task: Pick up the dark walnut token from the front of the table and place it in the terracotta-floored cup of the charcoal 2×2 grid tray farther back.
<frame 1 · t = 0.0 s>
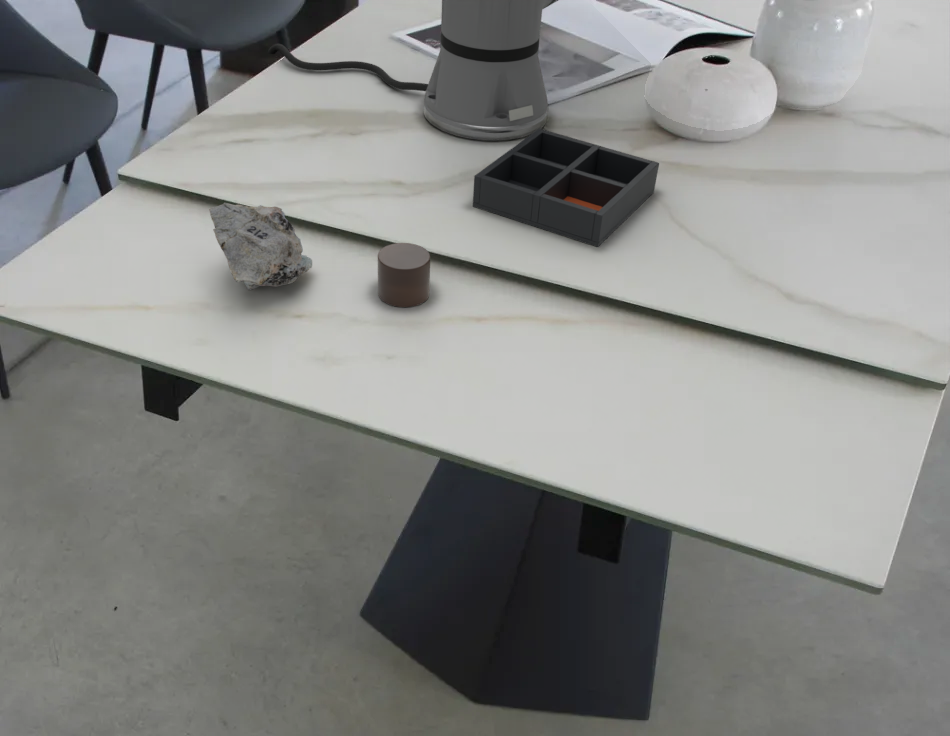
mineral specimen: (261, 284, 97), on the table
grid: (565, 199, 112), on the table
token: (403, 293, 96), on the table
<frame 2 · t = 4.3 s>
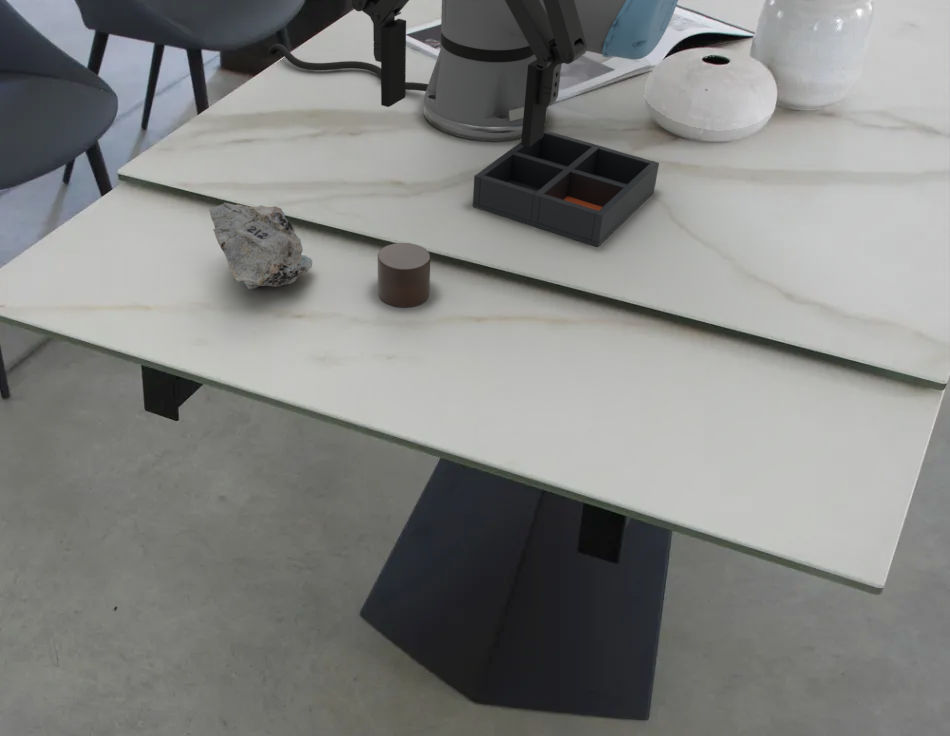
hand: (461, 121, 87), 16 cm above the table, tool pointing down, fingers open, 13 cm apart
nothing on the table moved.
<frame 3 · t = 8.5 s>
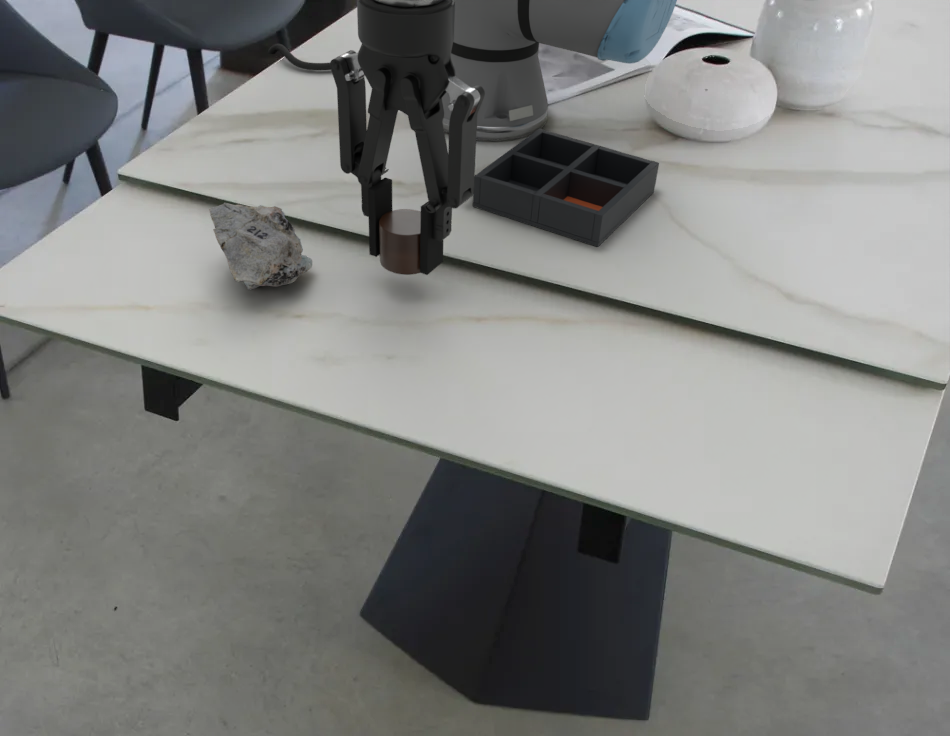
hand: (406, 257, 94), 4 cm above the table, tool pointing down, fingers closed on token, 5 cm apart
token: (406, 261, 94), point 3 cm above the table, touching gripper
everything else where it was.
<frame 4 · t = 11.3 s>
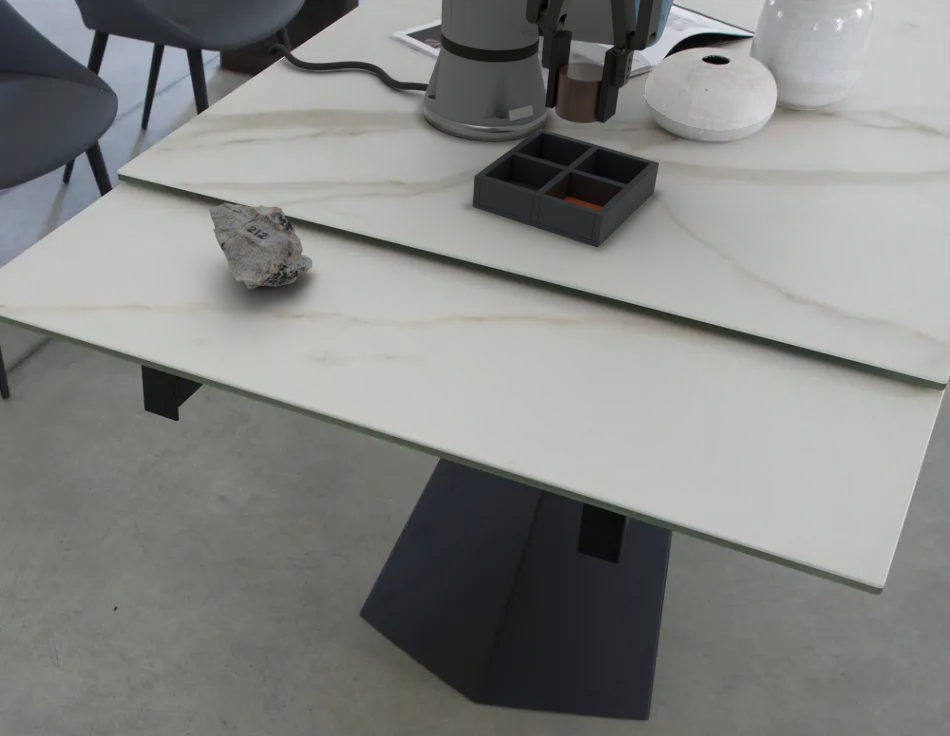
hand: (580, 109, 99), 12 cm above the table, tool pointing down, fingers closed on token, 5 cm apart
token: (579, 113, 99), point 12 cm above the table, touching gripper
everything else where it was.
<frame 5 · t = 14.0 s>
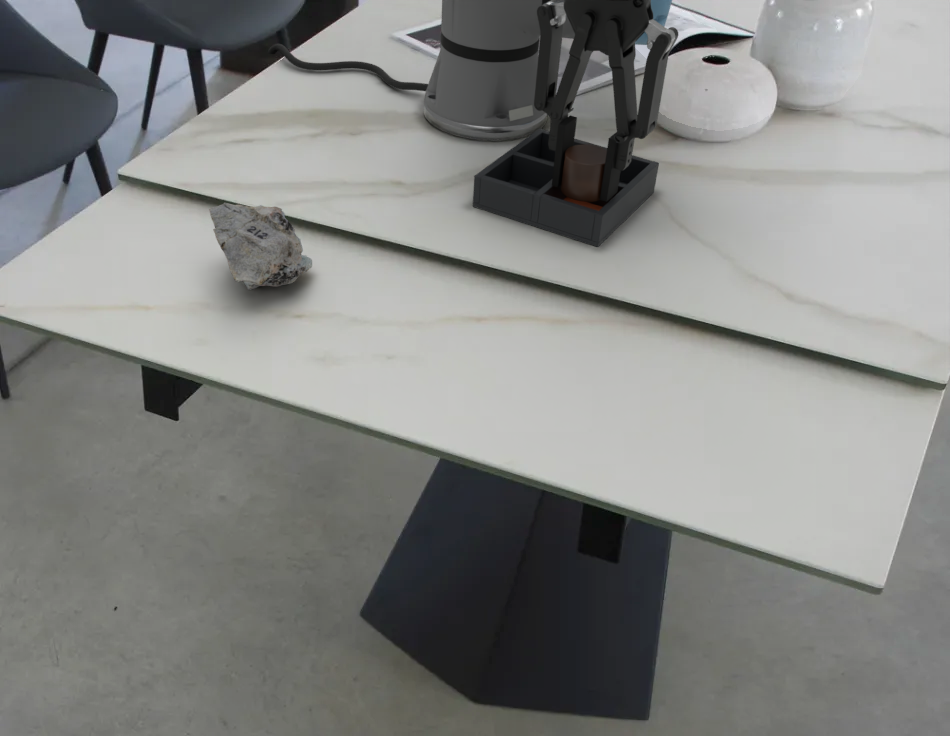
hand: (584, 188, 106), 4 cm above the table, tool pointing down, fingers closed on token, 5 cm apart
token: (583, 191, 106), point 3 cm above the table, touching gripper
everything else where it was.
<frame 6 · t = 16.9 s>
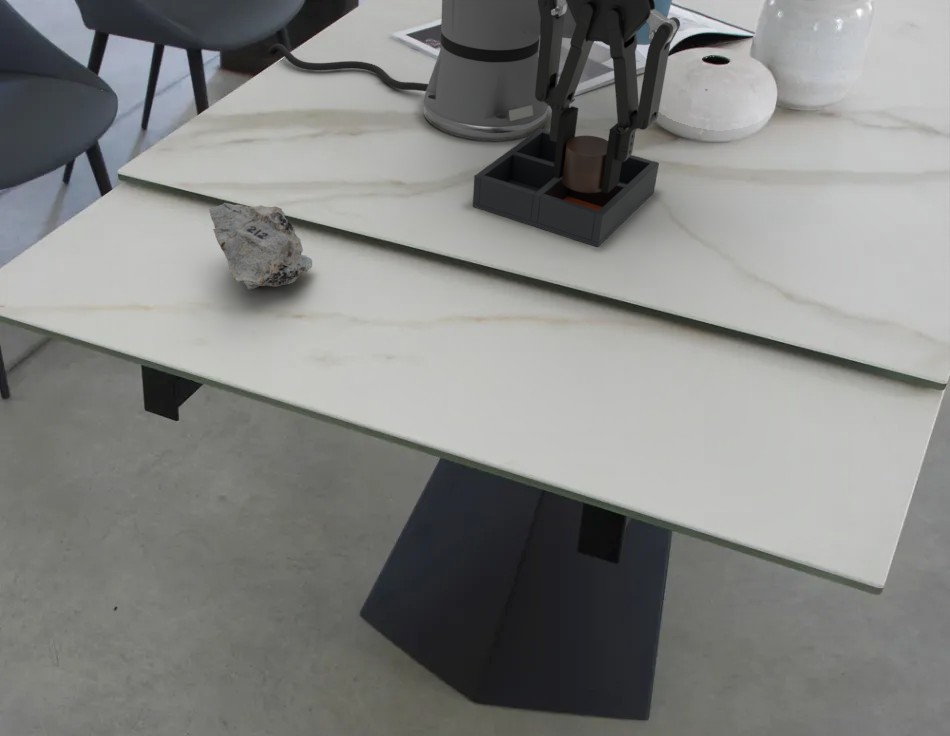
hand: (585, 179, 106), 5 cm above the table, tool pointing down, fingers closed on token, 5 cm apart
token: (585, 182, 106), point 4 cm above the table, touching gripper
everything else where it was.
when the fingers open (5 cm above the table, at t = 19.4 s): token drops 4 cm, resting on grid.
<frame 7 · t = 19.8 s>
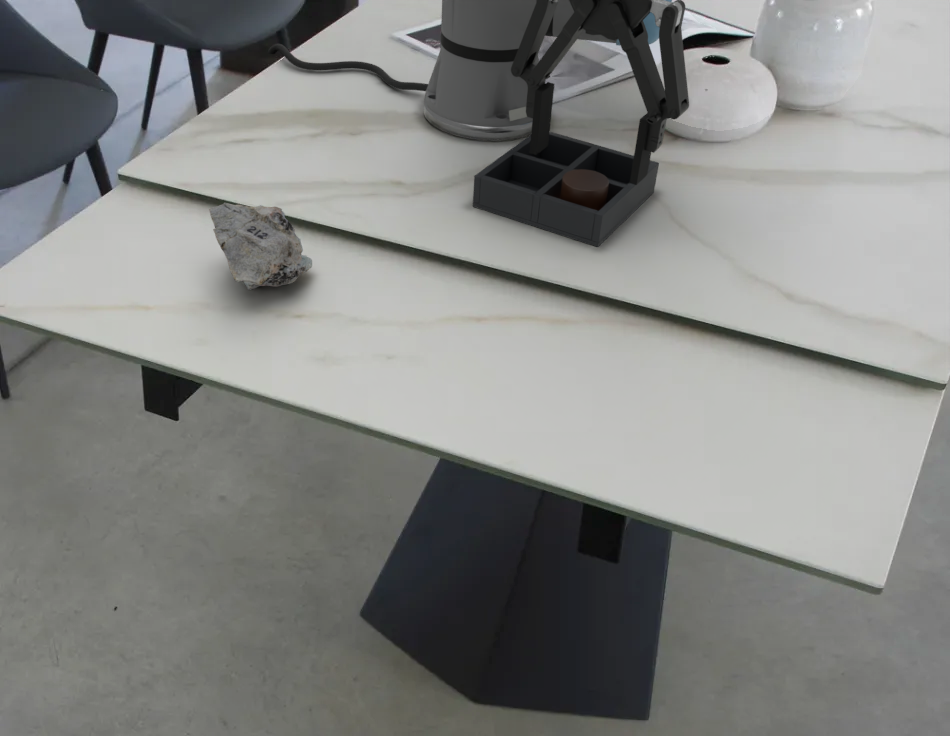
hand: (587, 164, 104), 6 cm above the table, tool pointing down, fingers open, 10 cm apart
token: (581, 215, 108), point 1 cm above the table, touching grid
everything else where it was.
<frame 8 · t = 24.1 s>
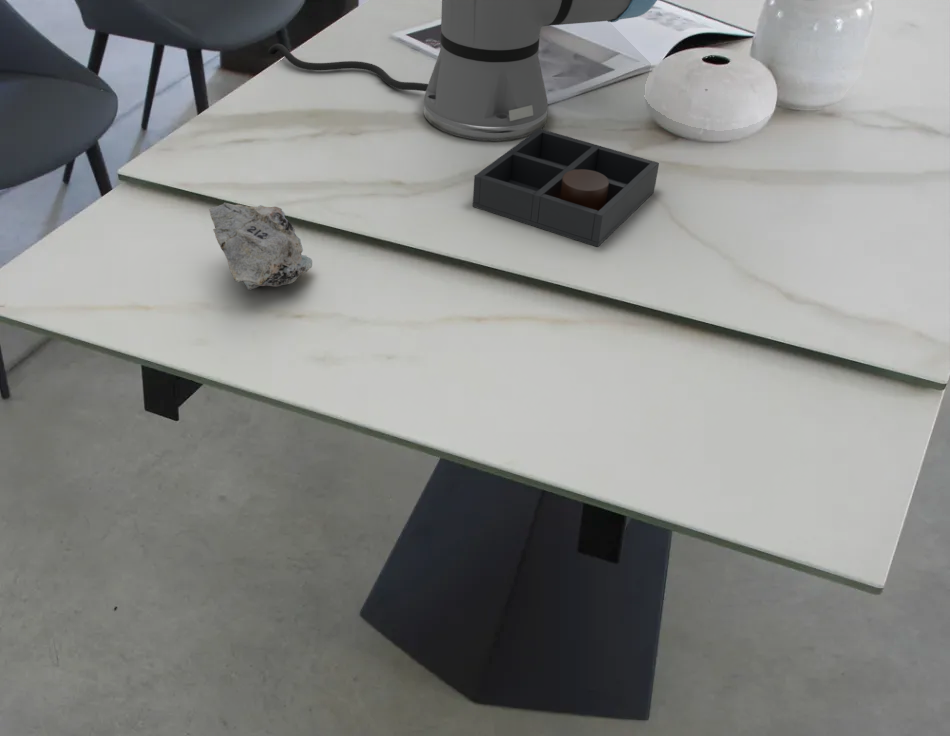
nothing on the table moved.
at the end: token 0.0 cm from the target spot in the grid, point 0.7 cm above the grid's base; token tilted 0°; the gripper is holding nothing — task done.
